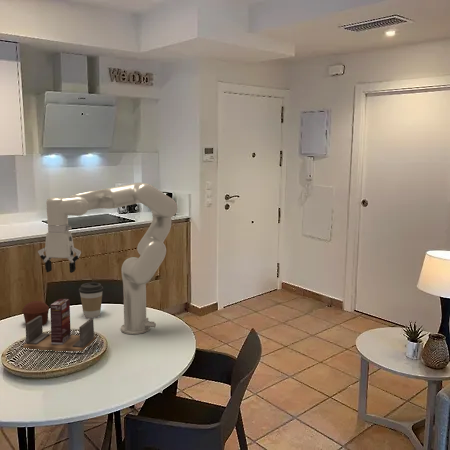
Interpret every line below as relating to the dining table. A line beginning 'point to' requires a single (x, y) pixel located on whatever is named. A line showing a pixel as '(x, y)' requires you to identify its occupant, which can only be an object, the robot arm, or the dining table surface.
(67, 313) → the supplement box
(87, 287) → the coffee cup
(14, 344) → the dining table surface
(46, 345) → the shelf
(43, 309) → the muffin
